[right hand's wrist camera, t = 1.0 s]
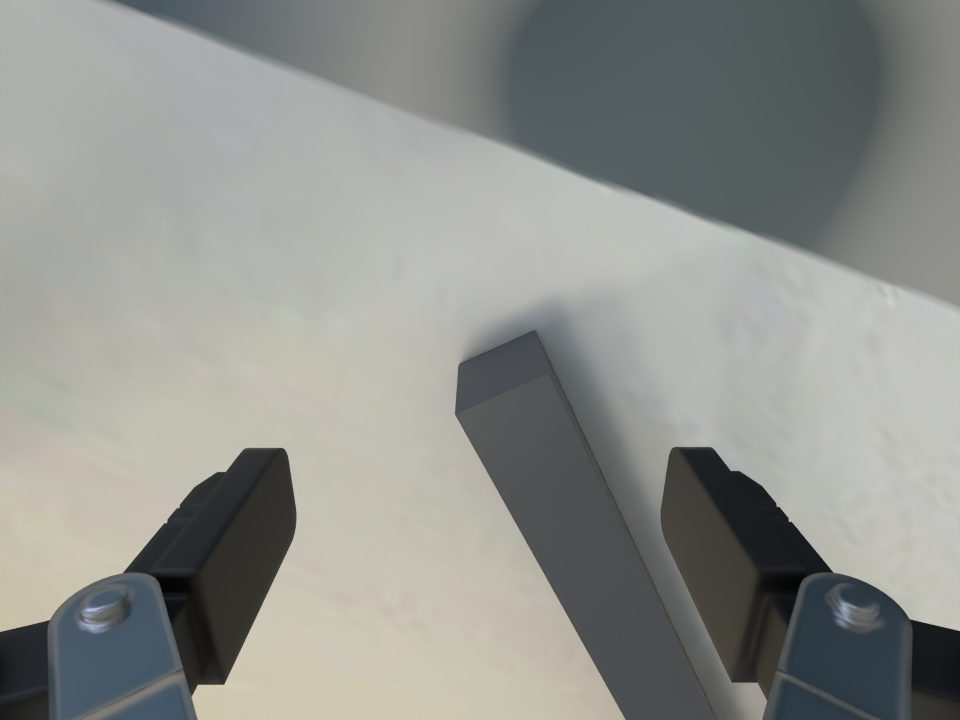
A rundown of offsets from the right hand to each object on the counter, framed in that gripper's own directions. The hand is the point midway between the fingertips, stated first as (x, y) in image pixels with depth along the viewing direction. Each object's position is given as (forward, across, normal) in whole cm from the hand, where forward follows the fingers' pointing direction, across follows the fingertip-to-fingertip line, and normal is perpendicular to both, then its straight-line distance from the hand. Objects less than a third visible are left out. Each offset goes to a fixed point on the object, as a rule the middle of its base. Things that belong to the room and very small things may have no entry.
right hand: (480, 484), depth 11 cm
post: (+20, +17, -38) cm, 46 cm away
